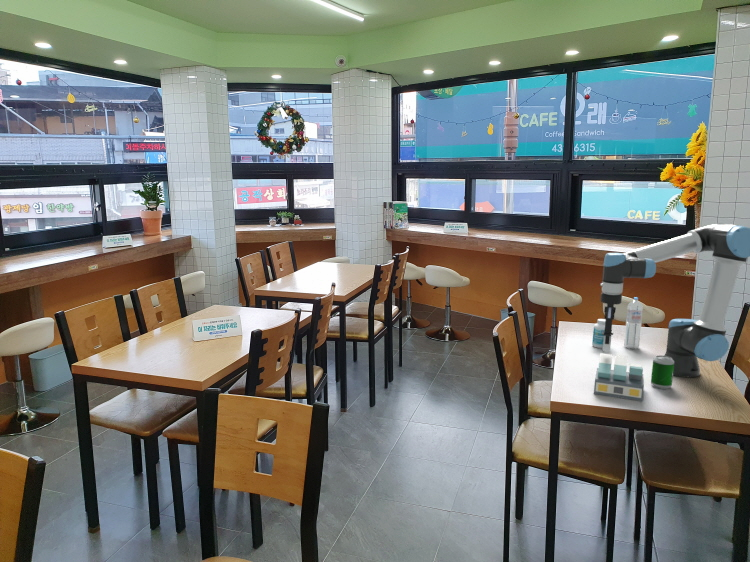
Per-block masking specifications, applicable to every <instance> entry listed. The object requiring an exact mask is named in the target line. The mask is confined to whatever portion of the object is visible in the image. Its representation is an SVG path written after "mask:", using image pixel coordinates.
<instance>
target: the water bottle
mask: <svg viewBox="0 0 750 562" xmlns="http://www.w3.org/2000/svg"><path fill="white" fill-rule="evenodd" d="M643 309H644V306H643V304H642V303H641V302H640V301H639V297H637V296H636V297H635V296H634V297H633V300H632V301H630V302H629V303H628V304H627V311H626V321H625V330H624V343H623V345H624V346H623V347H624V348H626V349H628V348H630V349H629V350H638V349H639V348H640V341H641V332H642V318H643Z"/></svg>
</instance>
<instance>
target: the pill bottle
mask: <svg viewBox="0 0 750 562" xmlns="http://www.w3.org/2000/svg"><path fill="white" fill-rule="evenodd" d="M596 321H597V322H596V323H595V324H593V330H592V343H591V345H592V347H594V348H596V347H597V349H603V340H604V335H602V333H603V334H604V332H605V321H606V319H605V318H598V319H597V320H596Z"/></svg>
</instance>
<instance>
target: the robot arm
mask: <svg viewBox="0 0 750 562" xmlns="http://www.w3.org/2000/svg"><path fill="white" fill-rule="evenodd" d="M703 252H712V255H711V256H712V258H713V260H714V264H713V268H712V271H711V274H710V279H709V283H708V286H707V289H706V294H705V297H704V301H703V304H702V308H701V311H700V314H699V317H698V319H692V318H674V319H671V320H670V321H669V323H668V327H667V330H668V332H667V338H666V339H667V341H666V350H665V353H664V355H663V356H668V357H671V358H672V359H673V360H674V370H673V377H675V376H676V377H681V378H696V377H699V376H700V374H701V372H700V371H701V369H700V364H699V359H700V360H704V361H706V362H715V361H719V359H722V358H723V357H724V356H725V355H726V354H727V353H728V351H729V347H730V343H729V340H728V339H727V337H726V333H727V328H726V327H725V324H724V323H725V321H726V317H727V313H728V309H729V306H730V303H731V299H732V296H733V292H734V289H735V286H736V281H737V278H738V275H739V271H740V269H741V266H743V265H744V264H746V263H747V259H748V258H750V227H748V226H744V225H742V224H741V225H739V224H729V223H722V222H721V223H720V222H717V223H713V224H708V225H705V226H701V227H698V228H695V229H691V230H688V231H687V233H686V234H683V235H680V236H676V237H673V238H671V239H667V240H664V241H659V242H657V243H652V244H650V245H647V246H643V247H640V248H636V249H633V250H629V251H626V252H623V253H622V252H607V253H606V254H605V256H604V259H603V263H602V265H603V269H602V281H601V283H600V287H601V293H600V302H601V303H602V304H606V305H605V306H604V309H603V310H604V319H605V320H606V321H605V332H604V334H603V333H602V335H604V340H603V348H602V352H606V353H610V352H611V345H612V336H613V335H614V333H613V332H612V331H613V320H614V319H615V313H616V306H615V305H620V304H621V303H622V298H623V295H622V293H623V290H624V289H623V288H624V279H633V278H634V279H648V278H649V279H650V278H652V277H654V276H655V275H656V271H657V265H656V263H660V262H663V261H666V260H669V259H673V258H676V257H680V256H683V255H687V254H689V253H694V254H698V253H703ZM614 306H615V307H614Z"/></svg>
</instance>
